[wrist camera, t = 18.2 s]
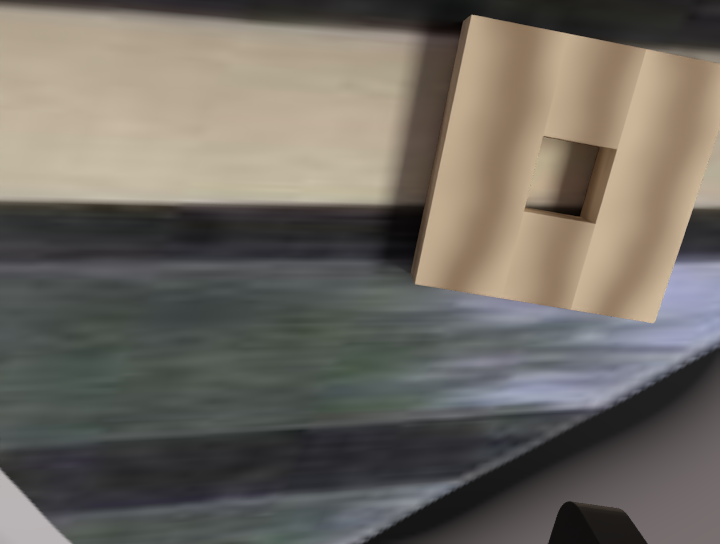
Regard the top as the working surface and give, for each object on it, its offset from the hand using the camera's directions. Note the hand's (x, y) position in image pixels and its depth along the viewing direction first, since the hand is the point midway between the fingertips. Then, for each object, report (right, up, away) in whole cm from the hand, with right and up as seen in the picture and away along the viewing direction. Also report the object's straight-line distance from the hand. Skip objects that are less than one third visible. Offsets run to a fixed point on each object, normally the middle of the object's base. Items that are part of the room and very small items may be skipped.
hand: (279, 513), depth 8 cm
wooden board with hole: (+14, +10, +29) cm, 33 cm away
